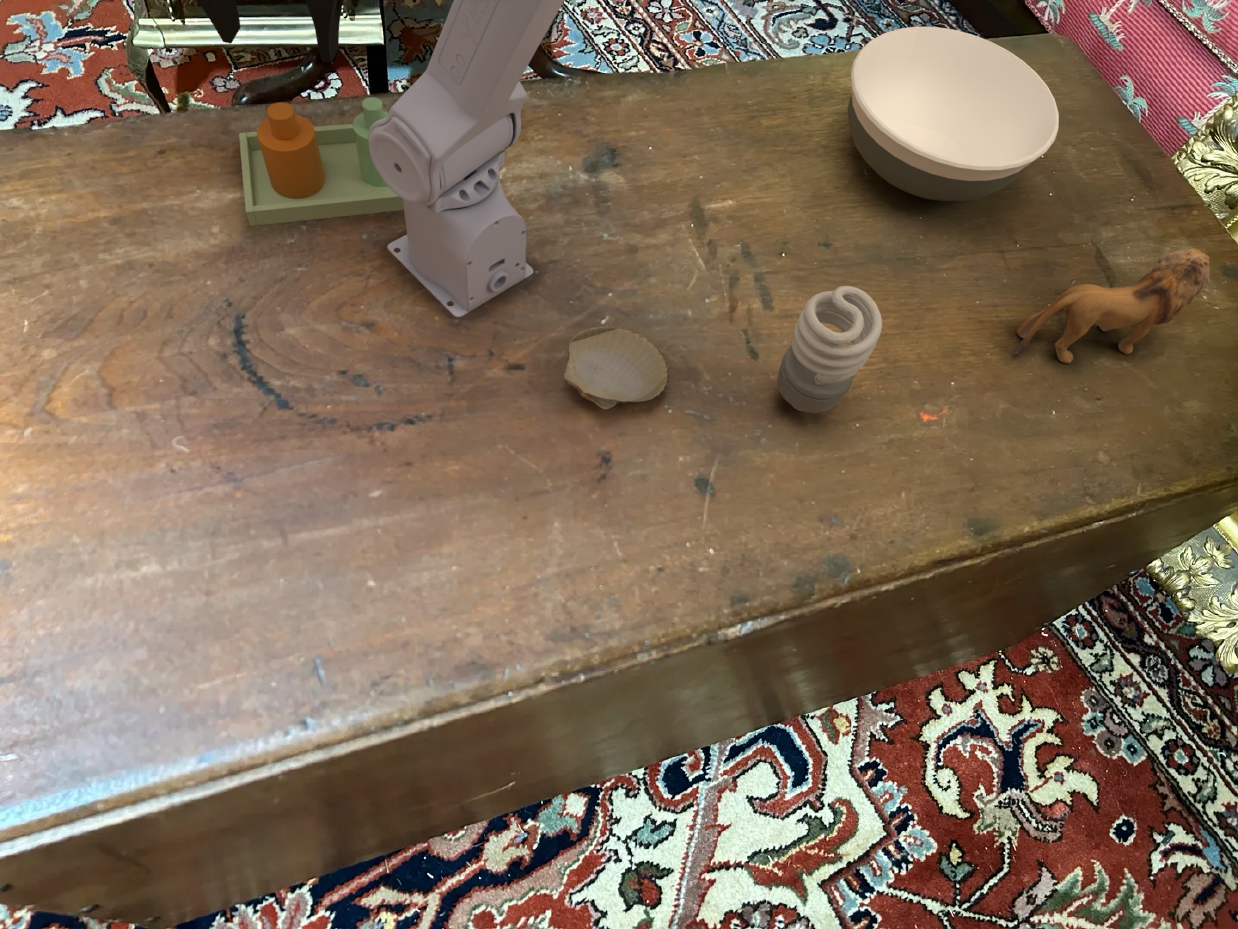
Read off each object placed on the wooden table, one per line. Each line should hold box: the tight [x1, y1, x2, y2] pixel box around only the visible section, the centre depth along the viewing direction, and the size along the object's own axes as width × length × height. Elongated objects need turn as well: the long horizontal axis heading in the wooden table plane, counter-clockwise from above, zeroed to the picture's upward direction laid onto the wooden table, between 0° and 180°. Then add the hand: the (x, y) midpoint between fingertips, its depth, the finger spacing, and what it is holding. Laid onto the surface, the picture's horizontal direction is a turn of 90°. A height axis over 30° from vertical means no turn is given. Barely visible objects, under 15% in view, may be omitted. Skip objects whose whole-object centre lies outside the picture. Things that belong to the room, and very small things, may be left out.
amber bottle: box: [256, 102, 325, 199], centre depth 73 cm, size 4×4×7 cm
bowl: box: [846, 26, 1060, 202], centre depth 83 cm, size 19×19×8 cm
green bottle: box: [352, 96, 390, 187], centre depth 74 cm, size 4×4×7 cm
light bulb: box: [776, 285, 883, 414], centre depth 66 cm, size 6×6×12 cm
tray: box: [238, 123, 404, 227], centre depth 77 cm, size 19×9×2 cm, turn 105°
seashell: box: [563, 325, 669, 411], centre depth 69 cm, size 8×3×8 cm
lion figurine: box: [1011, 247, 1211, 364], centre depth 73 cm, size 15×5×9 cm, turn 110°
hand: (281, 44), depth 70 cm, fingers open, 7 cm apart
